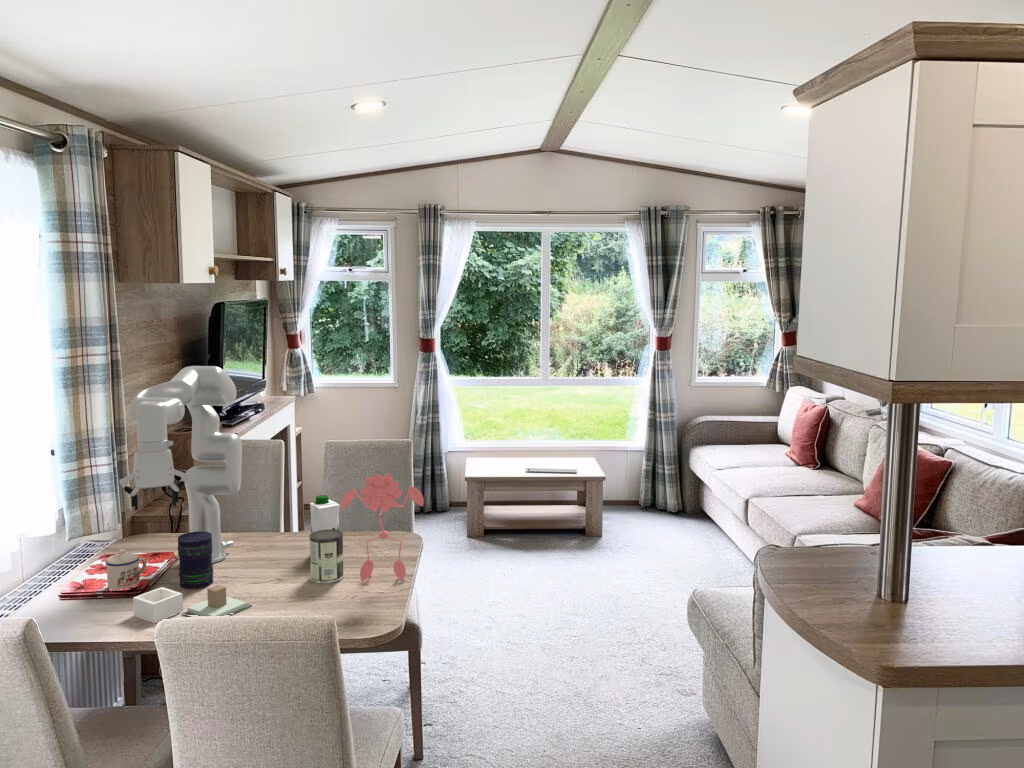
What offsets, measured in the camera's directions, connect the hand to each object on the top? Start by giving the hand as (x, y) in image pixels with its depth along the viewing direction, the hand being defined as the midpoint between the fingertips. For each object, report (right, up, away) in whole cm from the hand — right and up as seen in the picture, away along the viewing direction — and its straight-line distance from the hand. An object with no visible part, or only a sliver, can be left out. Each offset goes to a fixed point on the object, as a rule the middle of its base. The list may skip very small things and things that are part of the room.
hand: (155, 506), depth 216 cm
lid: (+16, -29, +3) cm, 34 cm away
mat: (+16, -30, +3) cm, 34 cm away
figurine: (+59, -28, +24) cm, 69 cm away
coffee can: (+41, -27, +29) cm, 57 cm away
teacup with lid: (-17, -27, +20) cm, 38 cm away
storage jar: (+2, -27, +22) cm, 35 cm away
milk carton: (+36, -24, +49) cm, 65 cm away
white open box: (+1, -30, 0) cm, 30 cm away
